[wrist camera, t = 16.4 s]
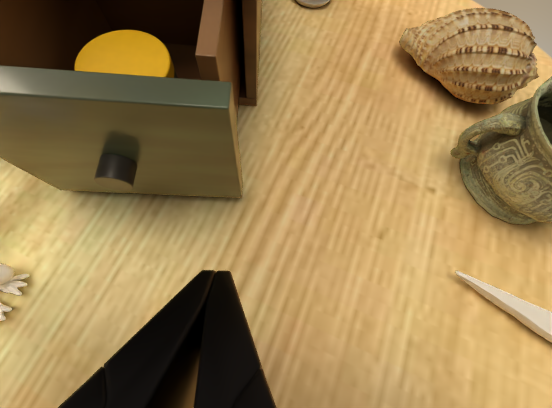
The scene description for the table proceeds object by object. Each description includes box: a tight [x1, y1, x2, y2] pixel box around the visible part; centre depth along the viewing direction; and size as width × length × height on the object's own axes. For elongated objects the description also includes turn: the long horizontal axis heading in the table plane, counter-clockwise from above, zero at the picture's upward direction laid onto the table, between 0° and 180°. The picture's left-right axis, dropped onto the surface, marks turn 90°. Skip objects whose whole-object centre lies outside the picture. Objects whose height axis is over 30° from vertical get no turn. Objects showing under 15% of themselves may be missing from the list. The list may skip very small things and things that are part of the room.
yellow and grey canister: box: [75, 30, 178, 78], centre depth 15 cm, size 4×4×5 cm
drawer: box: [0, 0, 243, 198], centre depth 15 cm, size 14×11×9 cm
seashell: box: [399, 8, 539, 104], centre depth 21 cm, size 8×6×10 cm
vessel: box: [451, 77, 552, 225], centre depth 17 cm, size 12×9×6 cm
